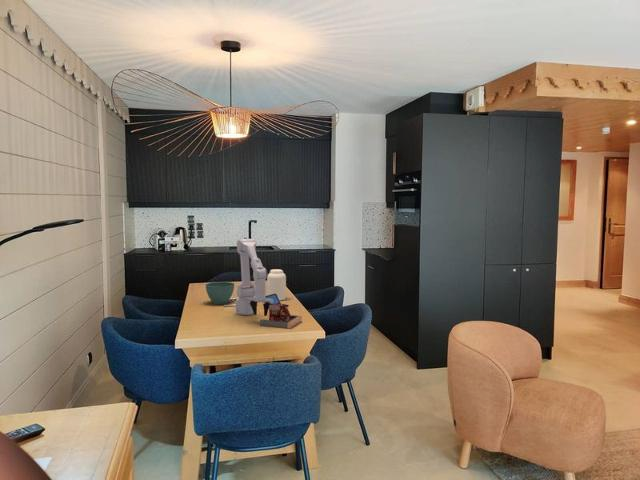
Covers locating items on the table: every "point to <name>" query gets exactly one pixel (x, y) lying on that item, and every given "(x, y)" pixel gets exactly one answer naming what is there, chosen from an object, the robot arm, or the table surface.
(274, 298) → the handheld game console
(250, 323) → the table surface
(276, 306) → the toy fire truck
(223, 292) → the plant pot
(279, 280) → the white ceramic jar
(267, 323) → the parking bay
